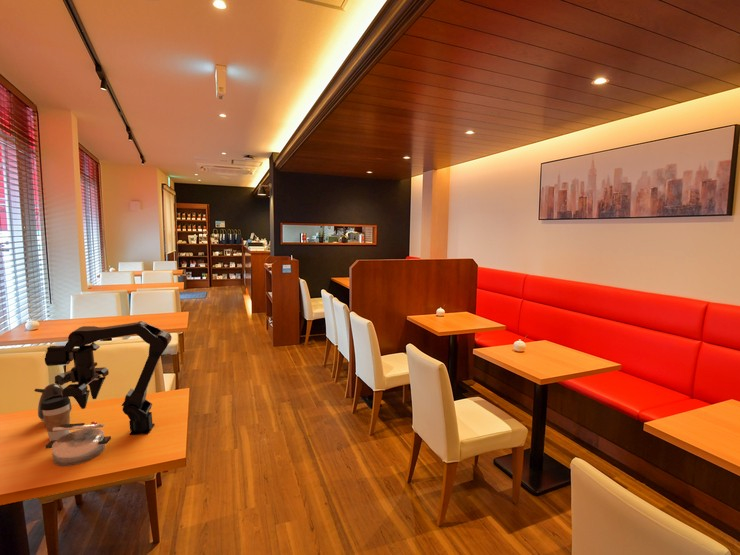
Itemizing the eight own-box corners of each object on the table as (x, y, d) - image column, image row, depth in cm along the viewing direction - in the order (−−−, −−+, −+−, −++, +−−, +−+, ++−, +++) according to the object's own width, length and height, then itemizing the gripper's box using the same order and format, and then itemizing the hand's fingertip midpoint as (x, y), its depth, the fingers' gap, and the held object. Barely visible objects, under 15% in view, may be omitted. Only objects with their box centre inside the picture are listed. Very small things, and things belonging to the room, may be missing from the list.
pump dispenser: (42, 417, 151) (37, 381, 149) (74, 411, 156) (70, 376, 154) (35, 430, 142) (30, 392, 140) (70, 423, 148) (65, 386, 145)
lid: (111, 426, 137) (112, 420, 137) (89, 428, 123) (90, 421, 123) (68, 429, 134) (69, 423, 135) (40, 431, 120) (41, 425, 121)
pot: (119, 438, 138) (118, 426, 137) (99, 463, 124) (97, 449, 123) (62, 443, 135) (61, 430, 134) (35, 468, 121) (33, 454, 120)
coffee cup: (57, 444, 134) (52, 404, 132) (38, 441, 136) (33, 402, 133) (80, 431, 142) (75, 393, 140) (61, 428, 144) (56, 391, 142)
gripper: (74, 354, 142) (79, 393, 145) (40, 374, 124) (46, 418, 127) (107, 352, 144) (111, 391, 147) (78, 372, 126) (83, 416, 128)
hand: (89, 403), depth 137 cm, fingers open, 7 cm apart
